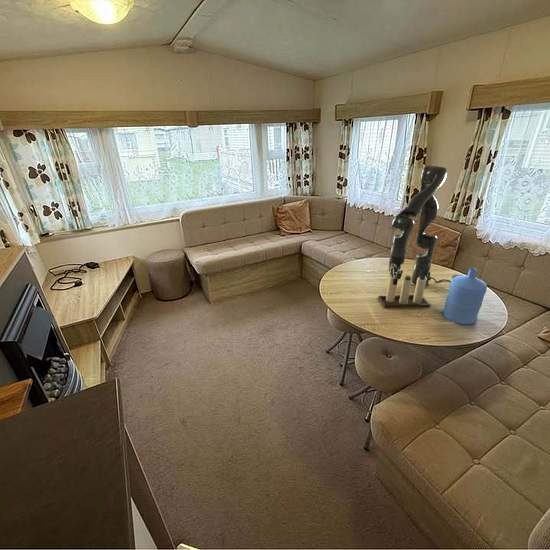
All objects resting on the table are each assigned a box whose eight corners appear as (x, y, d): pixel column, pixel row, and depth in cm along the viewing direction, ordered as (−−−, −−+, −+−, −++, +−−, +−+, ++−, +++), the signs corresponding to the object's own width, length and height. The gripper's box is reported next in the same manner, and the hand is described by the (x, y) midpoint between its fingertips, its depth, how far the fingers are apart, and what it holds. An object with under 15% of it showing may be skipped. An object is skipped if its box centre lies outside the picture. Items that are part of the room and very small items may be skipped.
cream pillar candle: (392, 298, 174) (396, 272, 167) (395, 302, 170) (400, 276, 163) (384, 298, 174) (388, 272, 167) (387, 302, 170) (391, 276, 163)
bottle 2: (419, 299, 175) (424, 274, 167) (422, 303, 171) (428, 278, 163) (411, 299, 175) (416, 274, 167) (414, 304, 171) (420, 278, 163)
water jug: (475, 328, 150) (492, 279, 137) (440, 319, 157) (453, 272, 145) (476, 313, 161) (491, 266, 149) (443, 306, 169) (456, 260, 157)
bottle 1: (405, 300, 175) (410, 274, 167) (408, 304, 171) (414, 278, 163) (397, 300, 175) (402, 275, 167) (400, 304, 171) (405, 278, 163)
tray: (421, 297, 178) (421, 294, 177) (429, 307, 168) (430, 304, 167) (378, 298, 178) (378, 295, 177) (384, 308, 168) (384, 305, 167)
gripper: (410, 259, 153) (404, 288, 160) (399, 248, 166) (395, 276, 173) (395, 259, 153) (390, 288, 160) (386, 249, 166) (382, 276, 173)
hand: (393, 282), depth 167 cm, fingers closed on cream pillar candle, 4 cm apart
